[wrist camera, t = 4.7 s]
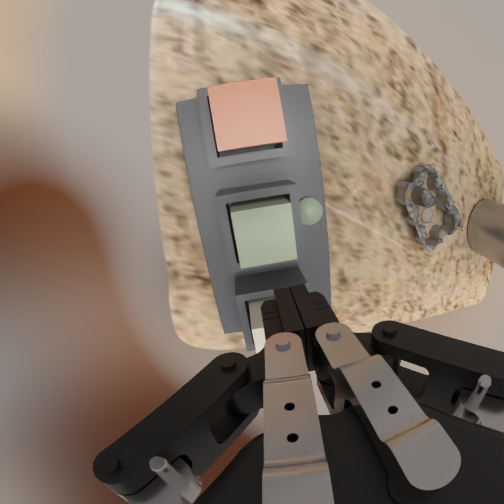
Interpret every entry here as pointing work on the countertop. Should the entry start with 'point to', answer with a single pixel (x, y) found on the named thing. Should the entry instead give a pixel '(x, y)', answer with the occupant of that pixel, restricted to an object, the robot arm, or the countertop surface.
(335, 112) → the countertop surface
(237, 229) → the sage key
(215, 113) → the terracotta key
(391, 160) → the countertop surface
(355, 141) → the countertop surface
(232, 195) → the key panel
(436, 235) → the grey ruined fortress
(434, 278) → the countertop surface
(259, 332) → the cream key
